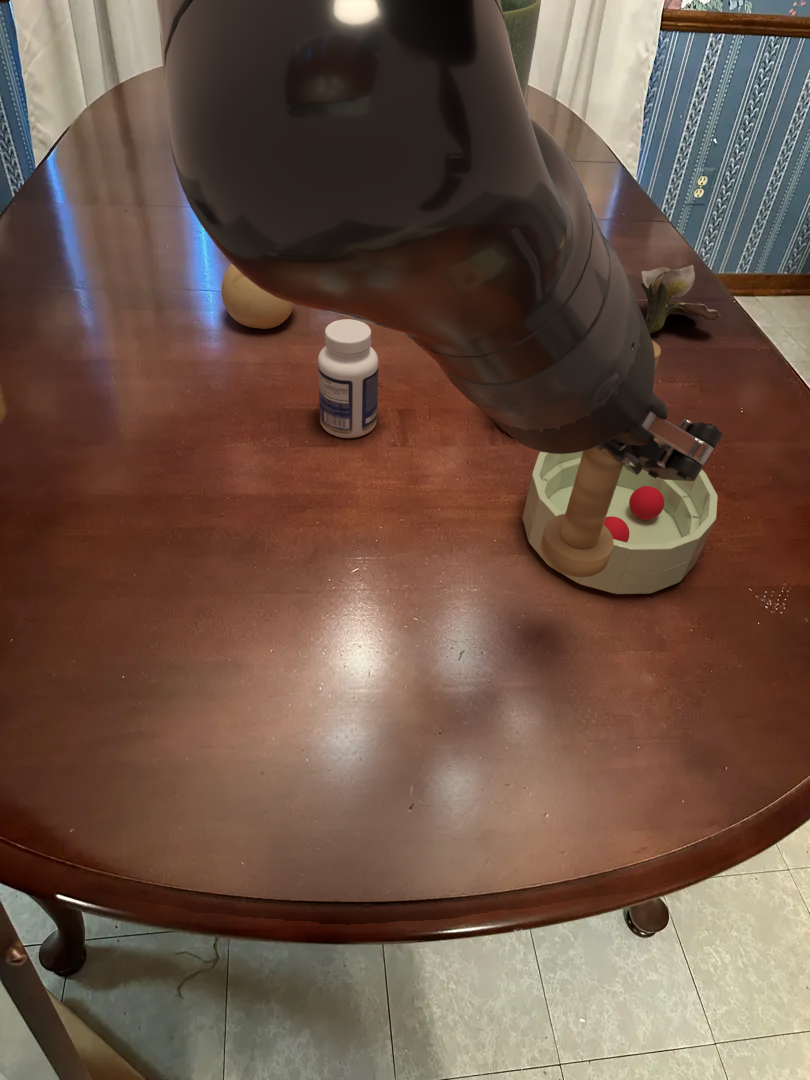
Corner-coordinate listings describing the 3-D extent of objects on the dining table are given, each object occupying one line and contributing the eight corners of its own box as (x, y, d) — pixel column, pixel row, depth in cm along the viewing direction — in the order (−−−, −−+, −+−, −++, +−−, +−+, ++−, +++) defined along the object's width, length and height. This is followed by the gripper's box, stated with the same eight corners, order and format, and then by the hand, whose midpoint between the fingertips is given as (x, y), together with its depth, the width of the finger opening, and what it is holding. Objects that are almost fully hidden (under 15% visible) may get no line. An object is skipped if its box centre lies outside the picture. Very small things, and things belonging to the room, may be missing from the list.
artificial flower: (504, 327, 91) (522, 236, 86) (682, 346, 95) (708, 261, 91) (525, 348, 83) (546, 250, 79) (717, 368, 88) (748, 276, 83)
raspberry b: (666, 524, 65) (662, 501, 63) (632, 528, 66) (627, 505, 64) (665, 500, 67) (661, 476, 65) (631, 504, 68) (626, 481, 66)
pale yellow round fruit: (304, 334, 84) (265, 284, 78) (242, 351, 88) (200, 304, 81) (313, 280, 88) (276, 228, 82) (253, 298, 91) (213, 249, 85)
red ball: (616, 503, 62) (600, 523, 65) (596, 519, 61) (580, 538, 63) (642, 528, 62) (625, 547, 64) (622, 545, 60) (605, 563, 62)
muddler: (620, 551, 51) (695, 345, 41) (587, 588, 48) (659, 379, 38) (561, 520, 53) (618, 315, 42) (527, 554, 50) (579, 345, 40)
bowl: (723, 533, 66) (747, 483, 62) (642, 629, 58) (663, 579, 54) (580, 458, 72) (593, 409, 69) (488, 536, 64) (498, 485, 61)
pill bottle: (365, 401, 77) (367, 310, 70) (385, 433, 73) (389, 340, 67) (312, 411, 75) (308, 319, 68) (330, 444, 72) (328, 351, 65)
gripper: (760, 317, 28) (766, 442, 43) (454, 198, 34) (555, 345, 49) (647, 500, 29) (692, 559, 44) (367, 351, 35) (493, 449, 50)
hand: (619, 445), depth 47 cm, fingers closed on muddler, 2 cm apart
